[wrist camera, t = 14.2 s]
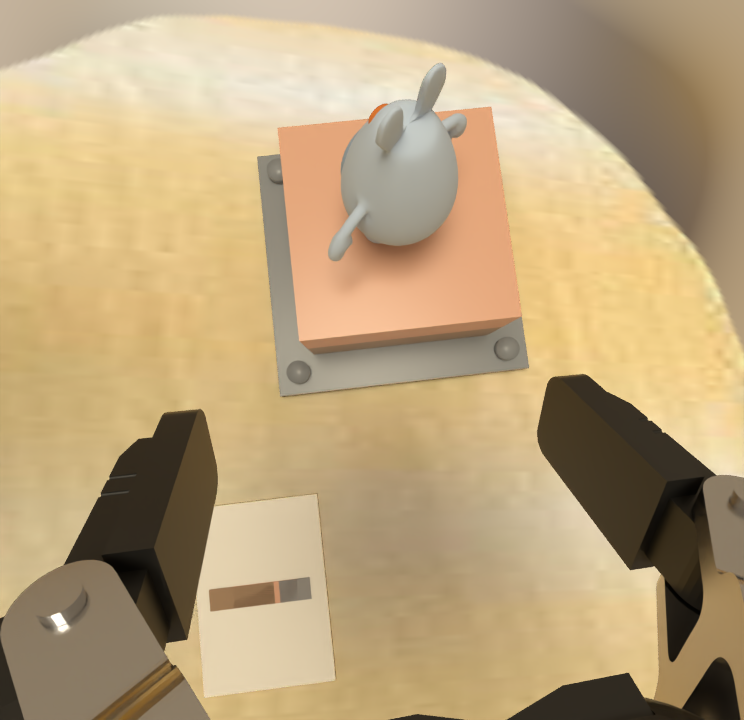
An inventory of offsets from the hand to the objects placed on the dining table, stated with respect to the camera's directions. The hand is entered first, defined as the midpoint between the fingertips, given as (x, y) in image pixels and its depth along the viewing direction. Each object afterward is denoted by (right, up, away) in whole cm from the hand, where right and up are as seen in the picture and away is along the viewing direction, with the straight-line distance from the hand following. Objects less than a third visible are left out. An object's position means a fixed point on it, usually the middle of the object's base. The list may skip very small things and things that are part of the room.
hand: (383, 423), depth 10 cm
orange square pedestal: (+1, +10, +27) cm, 28 cm away
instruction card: (-9, -17, +24) cm, 31 cm away
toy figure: (+1, +10, +18) cm, 21 cm away
